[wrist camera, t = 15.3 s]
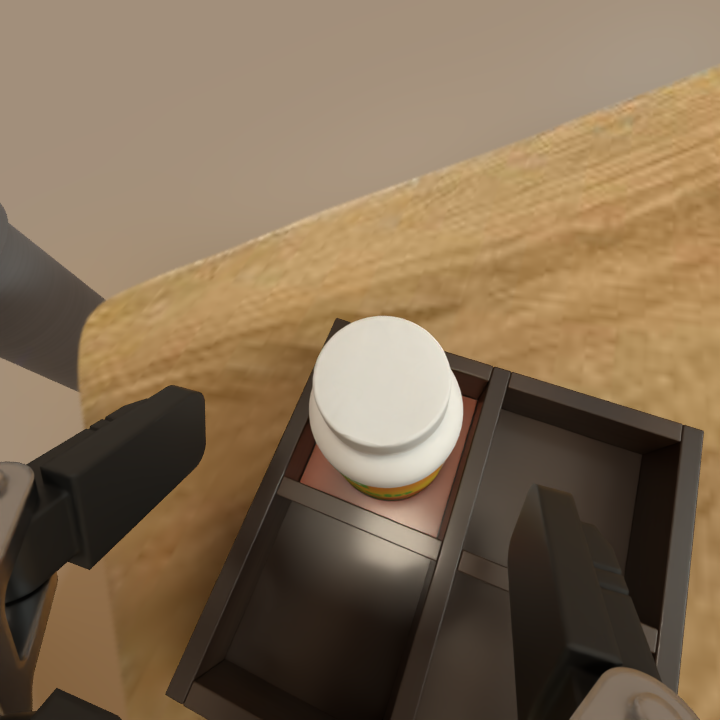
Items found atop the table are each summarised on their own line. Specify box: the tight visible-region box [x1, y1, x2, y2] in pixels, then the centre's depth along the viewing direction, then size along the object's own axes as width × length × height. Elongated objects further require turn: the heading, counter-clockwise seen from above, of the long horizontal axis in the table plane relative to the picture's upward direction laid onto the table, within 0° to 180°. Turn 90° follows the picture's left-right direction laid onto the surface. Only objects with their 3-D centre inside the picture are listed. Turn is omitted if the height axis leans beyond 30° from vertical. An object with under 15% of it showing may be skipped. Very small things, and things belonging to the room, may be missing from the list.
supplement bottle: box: [309, 316, 463, 501], centre depth 16 cm, size 5×5×10 cm
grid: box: [166, 318, 704, 720], centre depth 18 cm, size 16×16×4 cm
